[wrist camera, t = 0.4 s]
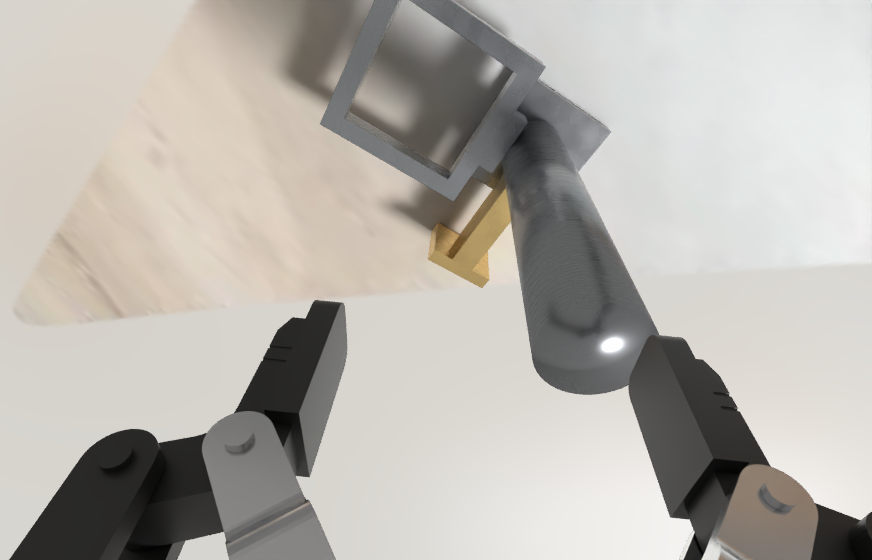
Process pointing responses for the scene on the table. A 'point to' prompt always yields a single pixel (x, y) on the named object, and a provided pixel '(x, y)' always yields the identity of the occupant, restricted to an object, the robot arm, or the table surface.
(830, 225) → the table surface
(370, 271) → the table surface
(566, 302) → the square post stand
